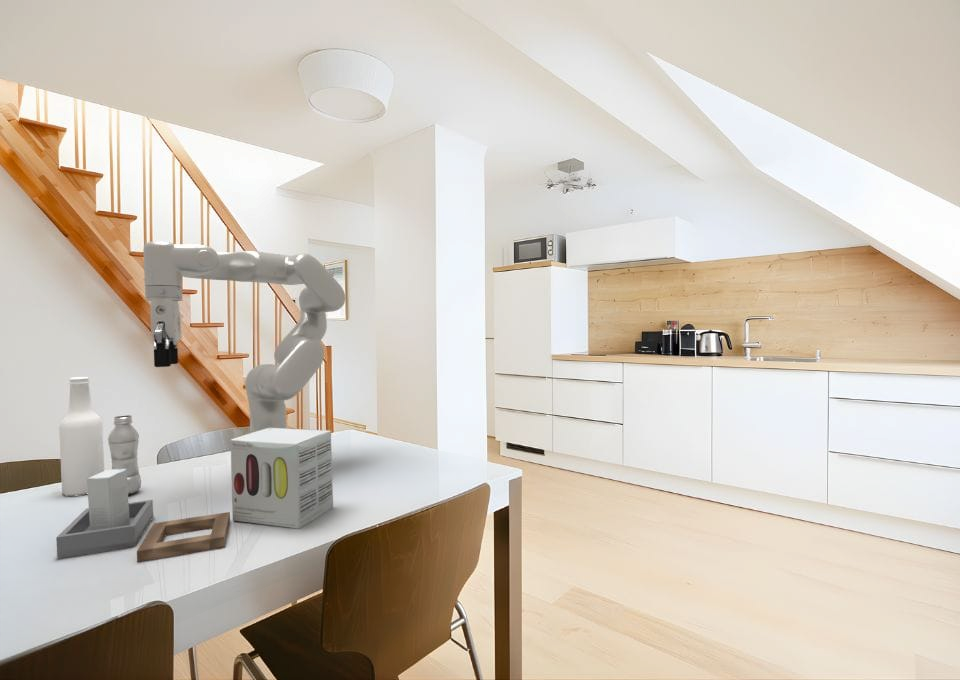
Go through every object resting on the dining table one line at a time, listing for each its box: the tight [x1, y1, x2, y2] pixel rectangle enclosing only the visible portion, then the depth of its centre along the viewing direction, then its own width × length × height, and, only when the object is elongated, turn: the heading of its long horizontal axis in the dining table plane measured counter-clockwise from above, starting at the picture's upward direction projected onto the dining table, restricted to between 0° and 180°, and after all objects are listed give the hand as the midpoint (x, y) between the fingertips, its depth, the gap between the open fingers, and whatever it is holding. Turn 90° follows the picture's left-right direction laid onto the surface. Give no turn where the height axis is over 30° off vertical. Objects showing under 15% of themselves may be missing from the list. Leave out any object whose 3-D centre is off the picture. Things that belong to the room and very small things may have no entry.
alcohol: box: [58, 376, 105, 497], centre depth 129 cm, size 9×9×30 cm
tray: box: [56, 499, 154, 560], centre depth 100 cm, size 12×16×4 cm
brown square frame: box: [136, 511, 231, 563], centre depth 98 cm, size 14×14×2 cm
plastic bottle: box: [107, 415, 142, 495], centre depth 126 cm, size 6×7×20 cm
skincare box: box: [87, 469, 130, 531], centre depth 100 cm, size 6×4×12 cm
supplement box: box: [230, 428, 334, 530], centre depth 110 cm, size 17×13×18 cm
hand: (166, 365), depth 119 cm, fingers open, 9 cm apart
